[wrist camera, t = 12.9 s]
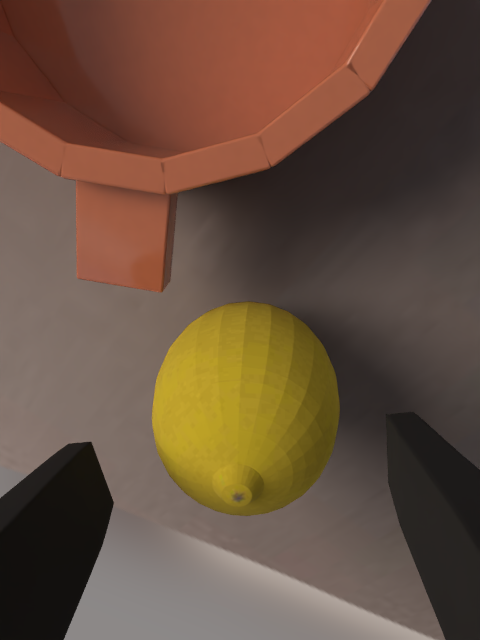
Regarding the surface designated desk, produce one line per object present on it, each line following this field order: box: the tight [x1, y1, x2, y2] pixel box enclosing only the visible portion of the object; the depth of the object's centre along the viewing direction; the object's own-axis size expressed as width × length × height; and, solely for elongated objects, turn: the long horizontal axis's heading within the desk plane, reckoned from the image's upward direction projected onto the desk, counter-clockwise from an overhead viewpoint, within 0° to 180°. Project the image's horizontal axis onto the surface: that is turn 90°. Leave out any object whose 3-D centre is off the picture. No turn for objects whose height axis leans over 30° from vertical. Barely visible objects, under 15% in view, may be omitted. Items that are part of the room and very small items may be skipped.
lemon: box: [152, 301, 340, 516], centre depth 13 cm, size 6×6×8 cm
